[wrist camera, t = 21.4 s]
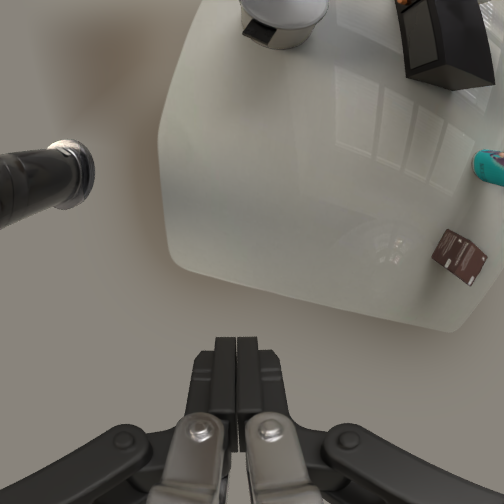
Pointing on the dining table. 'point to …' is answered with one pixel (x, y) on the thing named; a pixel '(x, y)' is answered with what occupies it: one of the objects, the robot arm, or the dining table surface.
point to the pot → (281, 21)
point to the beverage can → (489, 166)
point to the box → (459, 256)
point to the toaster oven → (445, 43)
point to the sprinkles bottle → (482, 1)
